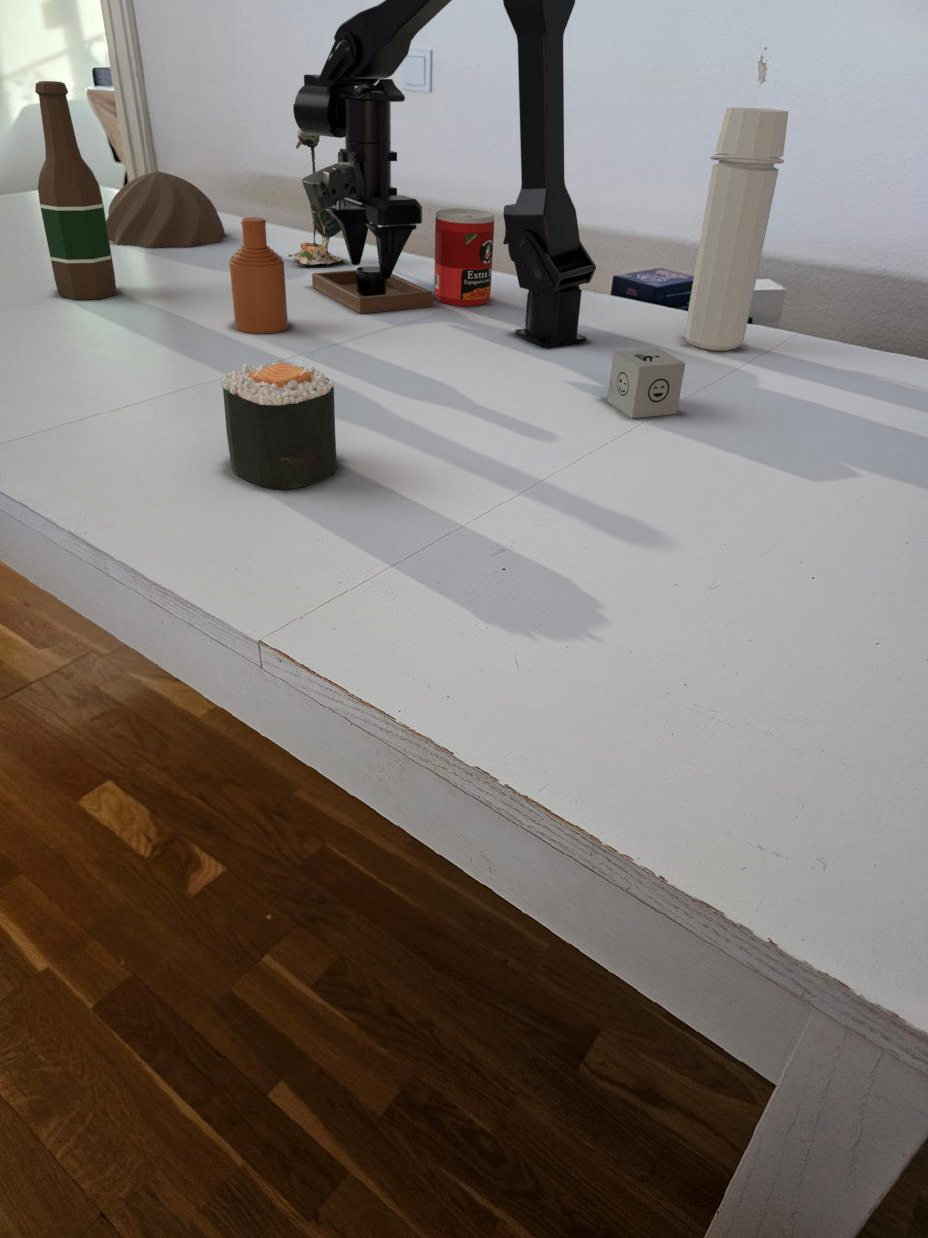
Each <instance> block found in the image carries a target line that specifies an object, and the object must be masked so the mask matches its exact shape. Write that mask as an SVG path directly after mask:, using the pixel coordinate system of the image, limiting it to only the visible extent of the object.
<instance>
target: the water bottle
mask: <svg viewBox="0 0 928 1238" xmlns="http://www.w3.org/2000/svg"><path fill="white" fill-rule="evenodd" d="M788 118H789V111H788V110H783V109H773V108H761V107H760V108H758V107H732V106H731V107H726V108H725V112H724V116H723V120H722V124H721V128H720V132H719V135H718V138H717V139H718V140H717V143H716V147H715V151H714V152H715V154H712V155H711V156H710V157H709V158H710V160H713V161H718V162H717V163H715V164H712V166H711V167H712V168H711V172H710V173H711V174H710V179H709V185H708V191H707V197H706V203H705V209H704V213H703V214H704V215H703V220H702V227H701V231H700V238H699V244H698V249H697V257H696V261H695V266H694V267H695V268H694V274H693V280H692V286H691V292H690V298H689V303H688V310H687V316H686V322H685V327H684V332H683V333H684V334H683V336H684V339H685V340H686V342H688V344H689V345H691V346H693V347H695V348H699V349H703V350H708V351H719V352H720V351H721V352H722V351H723V352H724V351H725V352H726V351H731V350H734V349H738V348H739V347H740V346H741V345H742V344H743V342H744V341H745V336H746V331H747V327H748V321H749V317H750V312H751V307H752V303H753V302H752V301H753V297H754V292H755V288H756V282H757V277H758V272H759V268H760V263H761V259H762V253H763V248H764V243H765V239H766V235H767V229H768V224H769V220H770V215H771V214H770V213H771V209H772V204H773V199H774V194H775V191H776V189H775V188H776V184H777V179H778V175H779V168H777V167H775V164H784V163H785V160H784V159H782V157H784V152H785V144H786V136H787V127H788V120H789V119H788Z"/></svg>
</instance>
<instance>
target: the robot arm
mask: <svg viewBox="0 0 928 1238" xmlns="http://www.w3.org/2000/svg"><path fill="white" fill-rule="evenodd" d="M452 1H453V0H383V1H382V2H379V4H376V5H375V6H372V7H370V8H367V9H365V10H361V11H359V12H358V13H356V14H355V15H353V16H352V17H350V18H348V19H347V20H345V21H344V22H342V23H341V24H340V25H339V26H338V27H337V29H336V31H335V33H334V36H333V39H334V41H333V45H332V47H331V48H330V51H329V53H328V56H327V59H326V60H325V63H324V65H323V67H322V69H321V72H320V74H304V75H303V86H302V87H301V88H300V89H299V90H298V91H297V93H296V96H295V100H294V103H293V104H292V105H293V118H294V121H295V123H296V125H297V127H298V128H299V129H301V130H302V131H303V132H304V133H307V134H311V135H320V136H321V137H329V138H336V139H338V138H339V139H343V138H344V139H345V140H344V144H345V148H339V151H338V152H337V162H336V163H334V164H332V165H329V166H325V167H323V168H321V169H319V170H317V171H315V173H313V172H312V173H311V174H309V175H307V176H304V177H303V178H301V182H302V185H303V188H304V191H305V193H306V196H307V198H308V202H309V204H310V205H312V206H314V205H315V206H317V207H318V208H319V209H326V211H327V212H329V213H330V214H331V215H332V216H333V217H334V218H335V219H336V220H337V221H338V222H339V224H340V227H341V233H342V236H343V238H344V243H345V246H346V250H347V254H348V257H349V260H350V264H351V265H352V266H359V265H360V264H361V261H362V258H363V255H364V250H365V247H366V246H365V245H366V242H367V237H368V233H369V231H370V232H371V233H372V234H373V235H374V237H375V242H376V249H377V250H376V251H377V259H378V267H379V268H380V274H381V278H382V279H389V278H390V276H391V274H393V272H394V270H395V267H396V265H397V263H398V261H399V258H400V257H401V254H402V252H403V250H404V248H405V245H406V244H407V242H408V240H409V238H410V236H411V235H412V233H413V231H414V230H416V229H417V226H418V225H419V224H422V223H423V206H422V205H421V203H420V202H419V201H418V200H417V199H416V198H414V197H410V196H408V195H404V194H403V195H402V194H401V195H398V188H397V187H394V186H392V162H398V152H397V151H393V150H392V130H391V129H392V126H391V125H392V113H391V112H392V111H391V109H392V108H391V107H392V103H404V102H405V101H406V96H405V94H403V92H402V91H401V89H400V88H398V87H397V85H396V84H395V82H394V79H392V78H391V77H392V76H393V75H394V74H395V73H396V71H397V70H398V68H399V67H400V65H402V63H403V62H404V61H405V59H406V58H407V56H408V55H409V52H410V47H411V44H412V41H413V39H414V38H415V37H416V35H417V34H418V33H419V32H420V31H421V30H422V29H423V28H424V27H425V26H426V25H427V24H429V23H430V21H432V20H433V19H434V18H435V17H436V16H437V15H438V14H439V13H440V12H441V11H442V10H444V8H446V7H447V6H448V5H449V4H450V3H451V2H452ZM502 4H503V7H504V10H505V12H506V14H507V17H508V19H509V22H510V24H511V26H512V28H513V32H514V33H515V36H516V43H517V69H518V72H517V73H518V74H517V75H518V76H517V77H518V104H519V105H518V108H519V111H518V113H519V145H520V146H519V147H520V174H521V175H520V177H521V182H520V183H521V185H520V191H519V193H518V196H517V197H516V198H517V199H516V200H515V203H512V204H506V205H504V207H503V212H502V213H503V221H504V228H505V229H504V230H505V231H504V239H503V242H502V245H504V246H505V245H507V250H508V255H509V258H510V261H511V262H512V263H514V267H515V272H516V273H515V274H516V277H517V282H518V287H519V288H520V289H525V290H527V291H528V292H527V295H526V307H525V320H524V321H525V322H524V326H525V328H518V329H514V334H515V335H516V336H519V337H520V338H523V339H525V340H528V341H529V342H532V343H534V344H536V345H538V346H540V347H542V348H543V347H544V348H548V347H557V346H564V345H571V344H578V343H585V342H587V341H588V337H587V336H585V335H583V334H581V333H578V330H579V320H580V311H581V302H582V301H581V300H582V294H583V293H582V291H583V290H582V289H581V288H580V286H581V285H584V284H590V283H591V281H592V279H593V277H594V275H595V272H596V270H597V265H596V264H595V262H594V260H593V259H592V257H591V255H590V254H589V253H588V251H587V250H586V248H585V246H584V245H583V243H582V241H581V238H580V237H581V236H580V230H579V224H578V223H579V222H578V216H577V215H578V214H577V210H576V206H575V205H574V203H573V200H572V198H571V196H570V193H569V191H568V189H567V187H566V182H565V104H564V103H565V95H564V94H565V93H564V92H565V90H564V89H565V88H564V87H565V86H564V83H565V82H564V36H565V31H566V28H567V25H568V23H569V20H570V18H571V15H572V13H573V10H574V7H575V4H576V0H502ZM310 205H309V206H310ZM417 224H418V225H417Z"/></svg>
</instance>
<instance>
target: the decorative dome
mask: <svg viewBox="0 0 928 1238" xmlns="http://www.w3.org/2000/svg"><path fill="white" fill-rule="evenodd" d="M107 213H108V216H107V217H106V224H107V230H108V236H109V241H114V243H115V245H123V246H124V245H125V246H137V247H143V248H148V249H156V248H170V247H172V248H173V247H174V248H192V247H195V246H199V245H203V244H214V243H219V242H220V239H221V238H223V237H226V232H225V228H224V225H223V223H222V220H221V217H220V216H219V213H218V211H217V209H216V207H215V205H214V203H213V202H212V201H211V200H210V198H209V196H207V195H206V194H205V193H204V192H203V191H202V190H201V189H200V188H198V187H197V186H196V185H194V184H193V183H191V182H189V181H187V180H186V179H184V178H182V177H179V176H176V175H173V174H170V173H167V172H163V171H158V170H157V171H151V172H148V173H145V174H141V176H140V175H139V176H138V177H136V178H133V179H131V181H128V182H127V183H126V184H125V185H124V186H122V187H121V188H120V189H119V191H117V193H116V194H115V195H114V196H113V198H112V199H111V201H110V204H109V206H108V212H107Z"/></svg>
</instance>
